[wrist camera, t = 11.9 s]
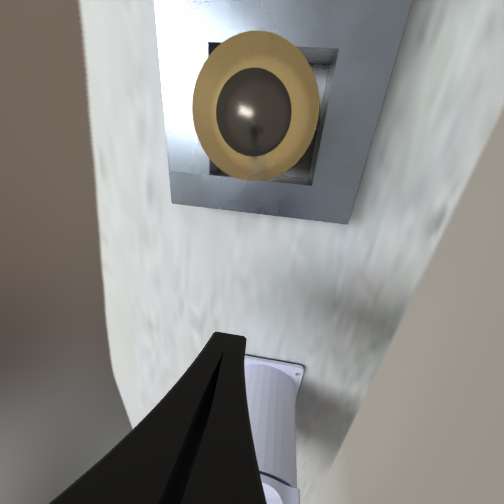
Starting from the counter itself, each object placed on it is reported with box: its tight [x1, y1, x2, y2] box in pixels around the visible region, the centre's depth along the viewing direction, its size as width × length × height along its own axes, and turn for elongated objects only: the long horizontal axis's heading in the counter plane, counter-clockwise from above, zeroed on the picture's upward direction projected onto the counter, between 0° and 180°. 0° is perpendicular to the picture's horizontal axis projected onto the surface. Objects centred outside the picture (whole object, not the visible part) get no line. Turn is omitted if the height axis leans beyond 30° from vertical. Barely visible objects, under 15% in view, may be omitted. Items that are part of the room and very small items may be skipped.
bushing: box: [192, 31, 319, 181], centre depth 11 cm, size 4×4×7 cm
